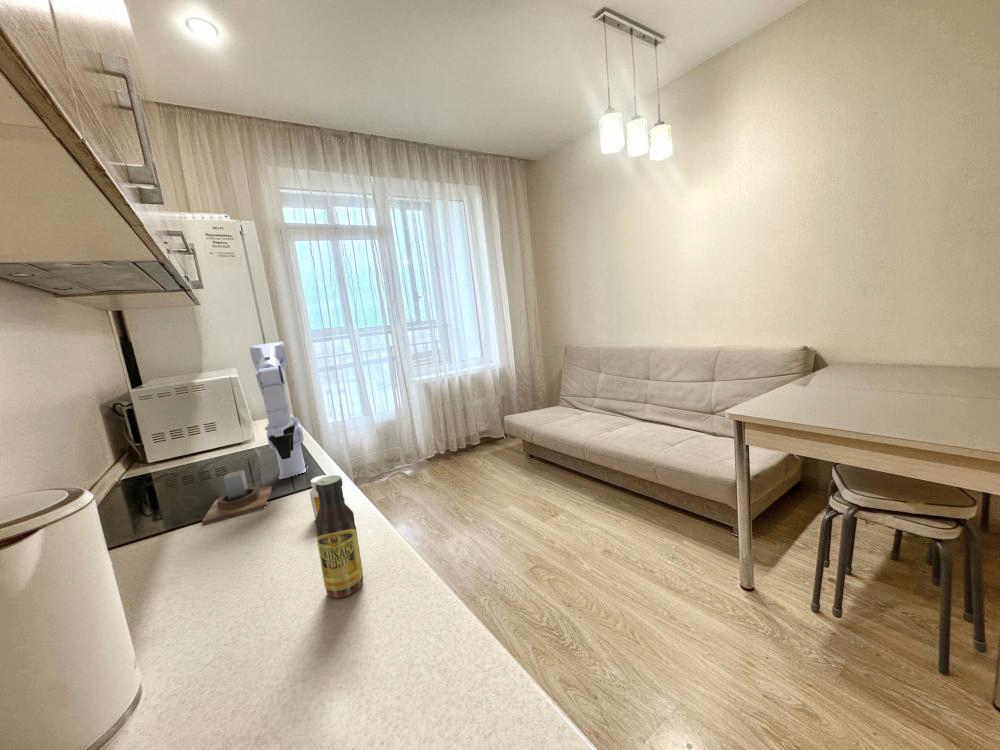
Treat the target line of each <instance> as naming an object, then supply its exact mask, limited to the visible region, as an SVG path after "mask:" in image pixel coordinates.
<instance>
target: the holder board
mask: <svg viewBox="0 0 1000 750" xmlns="http://www.w3.org/2000/svg"><path fill="white" fill-rule="evenodd" d="M272 488H274V487H273V485H272V484H271V485H267V486H264V487H263V486H262V487H254V486H248V489H249V493H250V494H249V495H248V496H246V497H244V498H241V499H237V500H233V501H230V502H229V499H228V495H227V493H226V494H224V495H222V496H220V497H219V498H216V499H215V501H214V502H213V504H212V505H211V507H210V508H209V510H208V511H207V513H206V514H205V516H204V517H203V519H202V521H201V523H202V525H203V526H204V525H208V524H211V522H212V523H215V522H218V521H223V520H225V519H229V518H234V517H237V516H241V515H244V514H248V512H249V513H252V512H255V510H256V511H259V510H258V509H260V510H262V509H261V508H263V509H265V508H264V507H266V506H267V507H268V504H267V500H268V497H269V495H270V492H271V490H272V491H273V489H272ZM271 493H272V492H271ZM270 496H271V495H270ZM267 507H266V508H267ZM251 511H252V512H251ZM207 523H208V524H207Z"/></svg>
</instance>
